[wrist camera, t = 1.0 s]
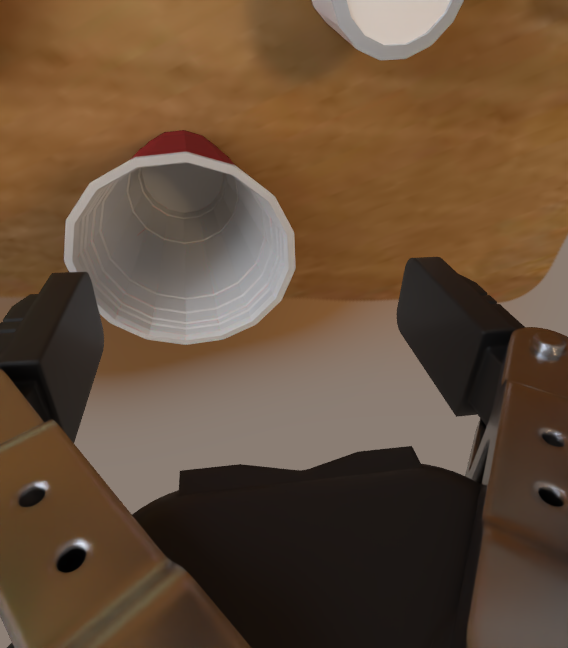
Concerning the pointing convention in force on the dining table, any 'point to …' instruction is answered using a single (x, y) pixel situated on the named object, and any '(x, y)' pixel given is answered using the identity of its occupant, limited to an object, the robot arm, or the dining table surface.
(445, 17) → the white faceted cylinder
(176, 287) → the plastic cup
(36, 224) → the dining table surface
